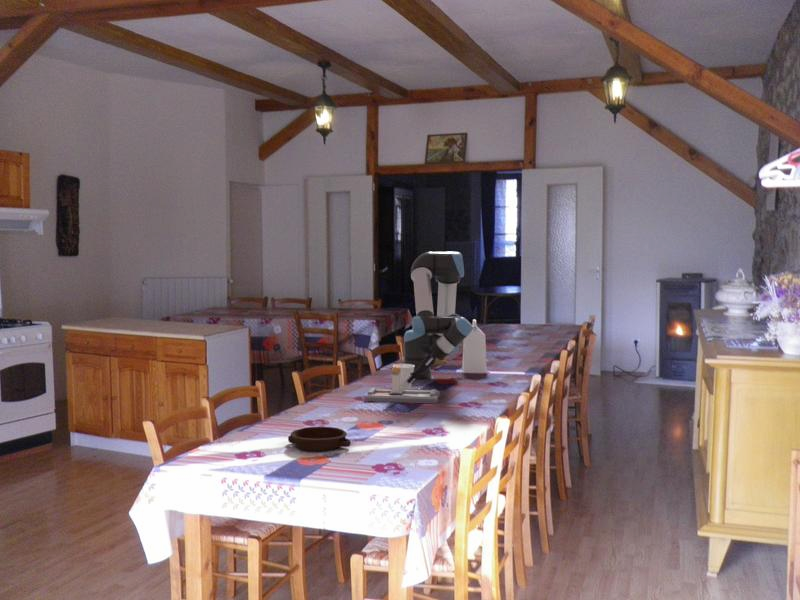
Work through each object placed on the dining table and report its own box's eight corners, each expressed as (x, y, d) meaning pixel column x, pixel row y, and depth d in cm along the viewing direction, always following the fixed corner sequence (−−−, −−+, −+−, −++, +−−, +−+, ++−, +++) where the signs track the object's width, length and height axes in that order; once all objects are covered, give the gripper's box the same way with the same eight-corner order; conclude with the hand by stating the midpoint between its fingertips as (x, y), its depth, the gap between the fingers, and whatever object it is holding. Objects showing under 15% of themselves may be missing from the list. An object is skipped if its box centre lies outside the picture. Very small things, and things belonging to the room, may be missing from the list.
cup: (412, 392, 346) (412, 367, 345) (390, 391, 348) (390, 367, 347) (416, 388, 355) (416, 364, 354) (395, 387, 357) (395, 363, 356)
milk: (486, 373, 395) (487, 321, 393) (463, 373, 395) (464, 321, 393) (484, 369, 407) (485, 318, 405) (462, 368, 407) (462, 318, 405)
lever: (389, 396, 329) (389, 368, 328) (392, 392, 337) (391, 365, 336) (401, 396, 328) (401, 368, 327) (403, 392, 336) (403, 365, 335)
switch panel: (364, 401, 327) (364, 393, 327) (370, 394, 341) (370, 386, 341) (436, 403, 323) (436, 395, 323) (439, 396, 337) (439, 388, 337)
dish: (340, 457, 246) (340, 441, 245) (276, 451, 252) (275, 436, 252) (359, 443, 263) (359, 428, 262) (298, 438, 269) (298, 423, 269)
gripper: (447, 356, 321) (407, 396, 324) (449, 352, 334) (410, 390, 337) (434, 343, 321) (394, 383, 325) (436, 339, 334) (398, 378, 338)
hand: (402, 387), depth 331 cm, fingers closed
